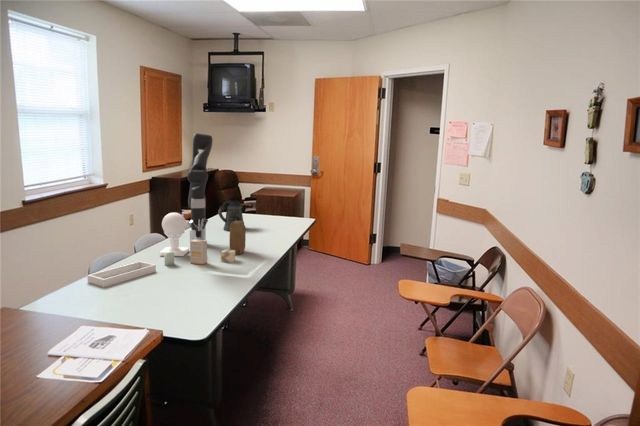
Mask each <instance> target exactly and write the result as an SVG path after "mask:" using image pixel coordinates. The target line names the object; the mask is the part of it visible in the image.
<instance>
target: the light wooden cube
mask: <svg viewBox="0 0 640 426" xmlns="http://www.w3.org/2000/svg"><path fill="white" fill-rule="evenodd" d="M235 261H236V254H235V250H230V248H229V249H228V248H226V249H223V250H221V252H220V262H221V263H228V264H229V263H231V264H232V263H233V262H235Z"/></svg>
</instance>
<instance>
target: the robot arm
mask: <svg viewBox="0 0 640 426" xmlns="http://www.w3.org/2000/svg"><path fill="white" fill-rule="evenodd" d="M212 147H213V137H212V135H209V134H204V133H200V132H199V133H196V132H195V133H194V134H193V138H192V156H191V157H192V159H191V160H192V161H191V167H190V169H189V170H188V172H187V175H186V176H187V178H186V179H187V181H188V182H189V183H190V184H189V191H188V198H187V204H188V209H190V221H188V223H187V225H189V227H190V229H189V242H190V241H191V240H194V239H197V240H206V238H207V237H206V236H207V235H206V230H207V228H206V225H207V223H208V222H209V220H208V219H206V211H207V209H206V207H207V197H206V195H205V192H206V191H205V190H206V185H207V182H208V178H209V174H208V172H207V162H208V159H209V156H210V153H211V150H212V149H213V148H212ZM200 150H201V151H200ZM199 151H200V152H199ZM206 241H207V240H206Z"/></svg>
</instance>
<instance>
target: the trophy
mask: <svg viewBox="0 0 640 426" xmlns="http://www.w3.org/2000/svg"><path fill="white" fill-rule="evenodd" d="M186 227H187V221H186V218H185V217H184V216H183V215H182V214H181V213H179V212H169V213H168V214H166V215H165V216H164V217H163V218H162V221H161V228H162V229H163V233H164V234H165V236H166V237H167V238H168V239H169V247H168V246H166V247H165V248H163V249H162V250H161V251H159V254H158V255H159V256H161V257H164V252H166V251H174V257H184V256H185V255H186V254H187V253H189V252H190V247H179V245H180V244H179V243H180V242H179V241H180V238H181V237H182V236H183V234H184V233H185V229H186Z"/></svg>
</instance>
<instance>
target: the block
mask: <svg viewBox="0 0 640 426" xmlns="http://www.w3.org/2000/svg"><path fill="white" fill-rule="evenodd" d="M244 225H245V221H244V220H243V221H233V222H232V223H231V224H230V226H231V227H230V232H229V250H235V255H242V254H244V253H245V252H244V251H245V249H246V239H247V237H246V226H245V227H244Z"/></svg>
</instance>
